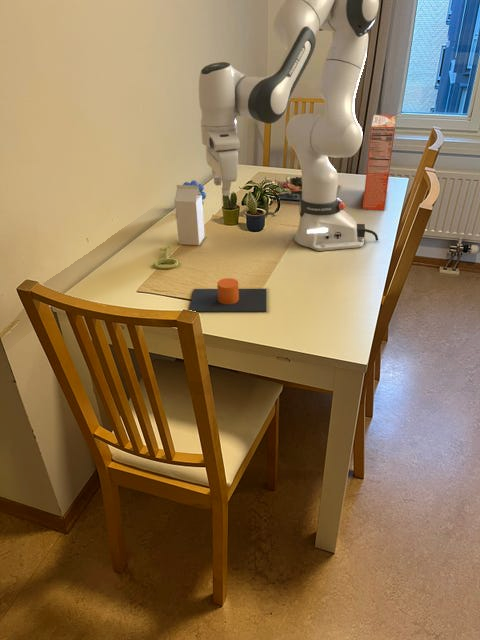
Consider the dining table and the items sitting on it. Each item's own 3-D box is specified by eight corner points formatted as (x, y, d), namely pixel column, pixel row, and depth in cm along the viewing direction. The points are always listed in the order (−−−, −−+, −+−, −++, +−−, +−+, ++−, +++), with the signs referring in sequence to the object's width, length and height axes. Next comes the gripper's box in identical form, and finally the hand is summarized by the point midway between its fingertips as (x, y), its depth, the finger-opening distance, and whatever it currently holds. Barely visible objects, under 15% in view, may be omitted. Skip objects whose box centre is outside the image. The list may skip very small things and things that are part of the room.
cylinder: (239, 294, 136) (238, 278, 133) (238, 304, 131) (237, 287, 128) (219, 294, 136) (218, 278, 133) (217, 304, 131) (216, 287, 129)
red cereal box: (365, 190, 210) (373, 114, 194) (385, 191, 208) (395, 115, 193) (362, 208, 191) (371, 126, 176) (384, 210, 190) (395, 127, 174)
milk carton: (199, 245, 166) (194, 189, 156) (178, 244, 167) (173, 188, 157) (204, 237, 171) (201, 182, 161) (184, 236, 173) (179, 181, 163)
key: (168, 251, 162) (168, 245, 161) (180, 266, 152) (179, 260, 151) (147, 256, 160) (146, 249, 158) (157, 271, 150) (156, 265, 149)
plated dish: (244, 200, 204) (244, 182, 200) (262, 181, 227) (262, 165, 223) (330, 207, 195) (332, 188, 191) (339, 187, 218) (341, 170, 214)
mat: (266, 289, 138) (266, 288, 138) (266, 312, 128) (266, 310, 128) (194, 290, 139) (194, 288, 139) (188, 312, 129) (188, 310, 129)
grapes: (210, 208, 197) (209, 177, 190) (204, 214, 191) (202, 183, 185) (183, 206, 200) (180, 176, 194) (176, 211, 194) (173, 181, 188)
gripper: (198, 128, 134) (202, 180, 141) (215, 145, 117) (218, 202, 124) (221, 126, 135) (224, 178, 142) (241, 142, 118) (243, 199, 125)
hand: (221, 189), depth 133 cm, fingers open, 8 cm apart
